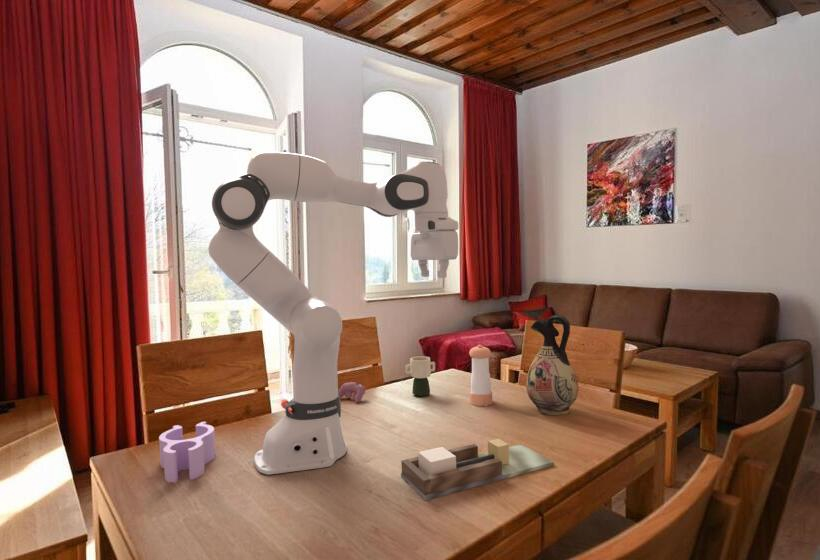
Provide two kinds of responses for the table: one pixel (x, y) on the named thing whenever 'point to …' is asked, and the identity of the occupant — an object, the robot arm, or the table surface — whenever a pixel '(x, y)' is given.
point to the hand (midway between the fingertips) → (433, 277)
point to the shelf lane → (471, 470)
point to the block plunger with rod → (446, 461)
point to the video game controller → (352, 386)
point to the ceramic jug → (552, 370)
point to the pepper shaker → (480, 377)
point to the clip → (186, 451)
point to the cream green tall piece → (420, 374)
